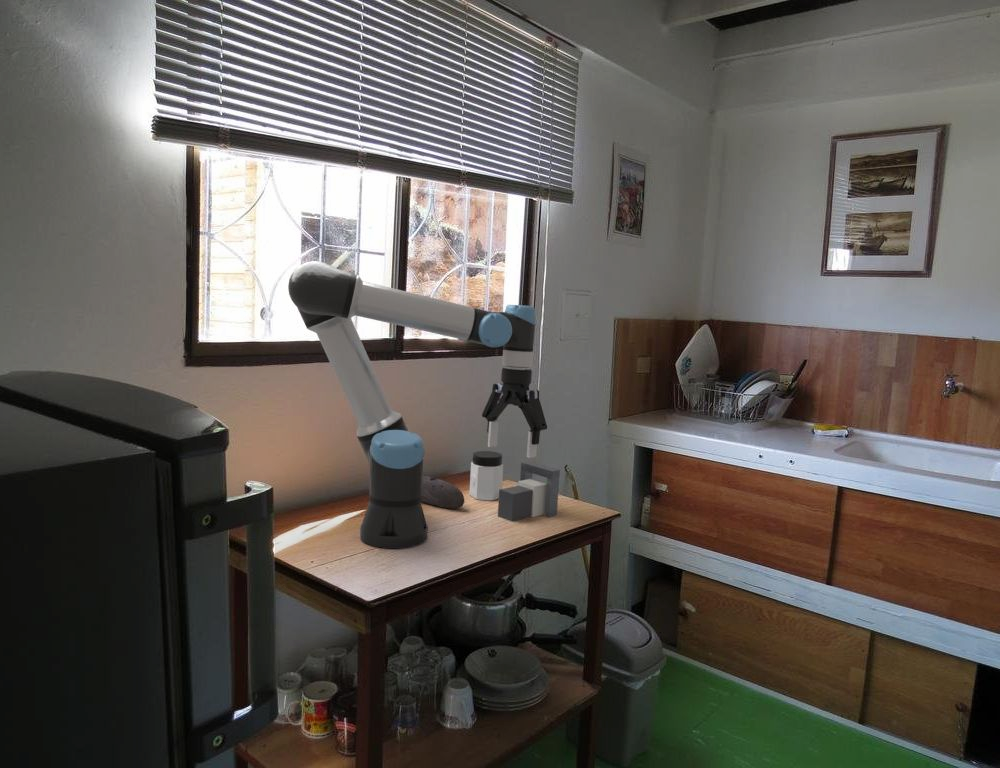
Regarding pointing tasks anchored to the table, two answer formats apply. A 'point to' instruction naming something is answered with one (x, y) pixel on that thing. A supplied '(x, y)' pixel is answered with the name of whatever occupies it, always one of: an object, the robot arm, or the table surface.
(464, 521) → the table surface
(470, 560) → the table surface
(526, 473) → the frame
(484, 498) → the jar
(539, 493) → the plug
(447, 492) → the perforated stone tool
